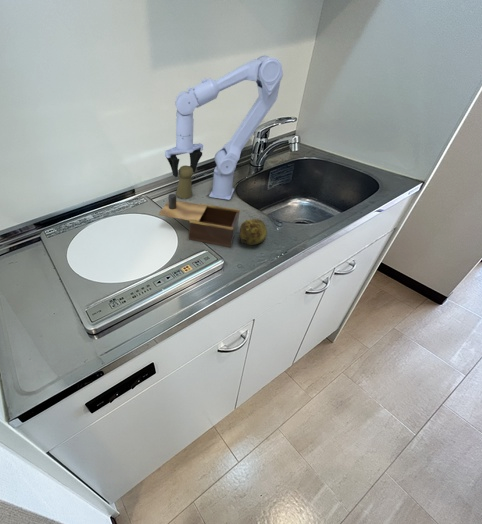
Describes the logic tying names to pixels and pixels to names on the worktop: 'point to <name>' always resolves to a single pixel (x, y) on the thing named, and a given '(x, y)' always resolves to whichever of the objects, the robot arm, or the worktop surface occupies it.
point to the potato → (253, 231)
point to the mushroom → (185, 182)
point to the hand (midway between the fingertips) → (184, 173)
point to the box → (215, 226)
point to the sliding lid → (182, 209)
